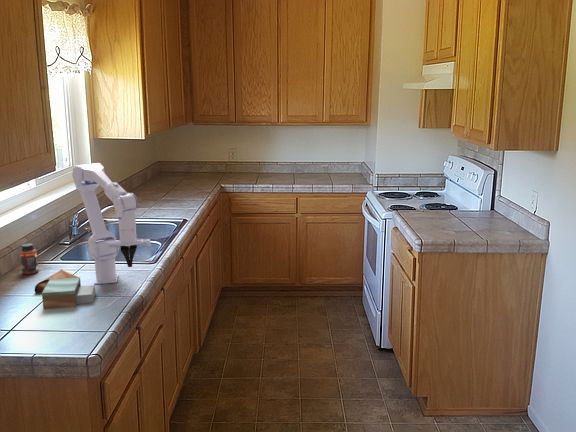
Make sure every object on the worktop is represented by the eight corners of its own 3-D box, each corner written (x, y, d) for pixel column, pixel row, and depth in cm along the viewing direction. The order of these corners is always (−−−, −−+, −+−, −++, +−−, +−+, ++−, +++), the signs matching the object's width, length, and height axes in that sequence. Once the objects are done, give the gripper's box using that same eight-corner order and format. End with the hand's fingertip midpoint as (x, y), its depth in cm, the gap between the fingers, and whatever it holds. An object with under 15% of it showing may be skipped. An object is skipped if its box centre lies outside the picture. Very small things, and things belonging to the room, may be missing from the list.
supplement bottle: (42, 271, 218) (39, 243, 216) (29, 275, 213) (26, 247, 210) (31, 269, 221) (28, 241, 218) (18, 273, 216) (15, 245, 213)
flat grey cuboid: (53, 296, 192) (52, 288, 191) (95, 293, 195) (94, 285, 194) (48, 306, 184) (47, 297, 183) (92, 302, 187) (91, 294, 186)
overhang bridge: (51, 294, 194) (49, 279, 193) (81, 292, 196) (80, 277, 195) (43, 308, 181) (41, 293, 180) (75, 306, 183) (74, 290, 182)
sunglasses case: (57, 293, 194) (46, 278, 193) (42, 302, 196) (31, 287, 195) (81, 277, 212) (71, 262, 211) (67, 285, 213) (57, 270, 212)
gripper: (104, 232, 186) (107, 271, 189) (148, 230, 189) (151, 268, 192) (106, 227, 193) (109, 264, 196) (149, 225, 196) (151, 262, 199)
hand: (130, 266), depth 195 cm, fingers closed
